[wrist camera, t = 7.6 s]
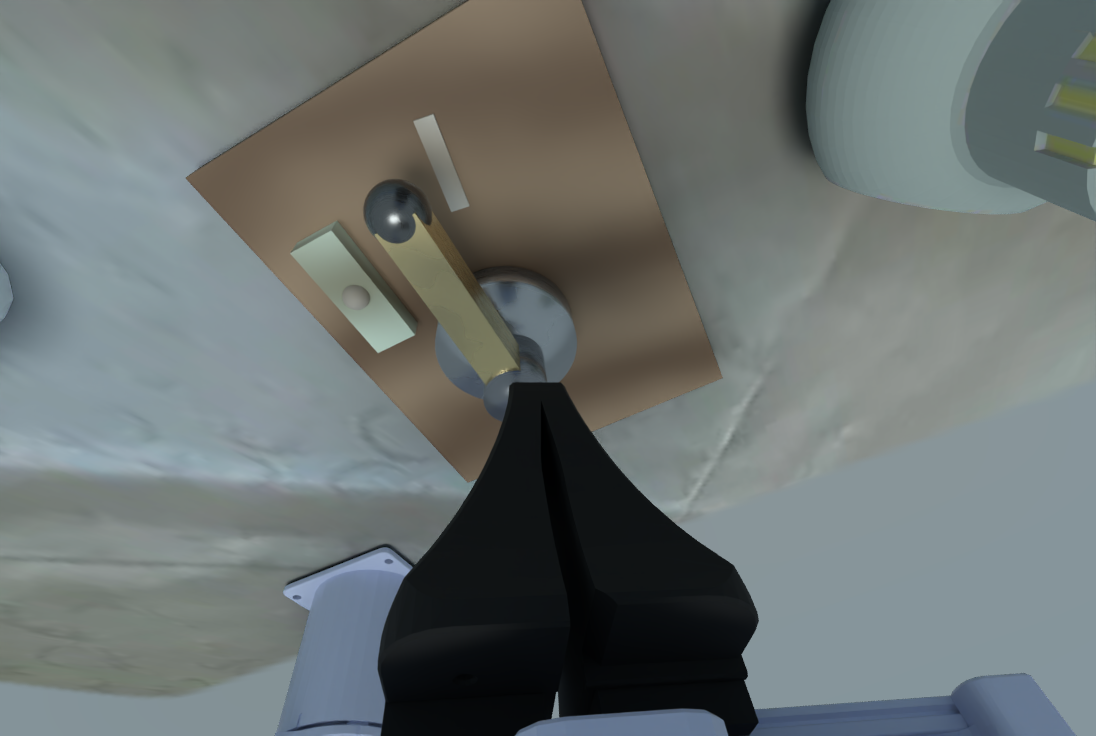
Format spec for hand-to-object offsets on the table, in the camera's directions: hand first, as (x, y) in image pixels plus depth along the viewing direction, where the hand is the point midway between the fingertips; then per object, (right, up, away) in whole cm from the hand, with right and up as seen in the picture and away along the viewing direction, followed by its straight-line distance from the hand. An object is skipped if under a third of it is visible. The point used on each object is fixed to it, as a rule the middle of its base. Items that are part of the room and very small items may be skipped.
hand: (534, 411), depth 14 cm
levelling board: (-2, +5, +9) cm, 10 cm away
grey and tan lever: (-3, +5, +7) cm, 9 cm away
